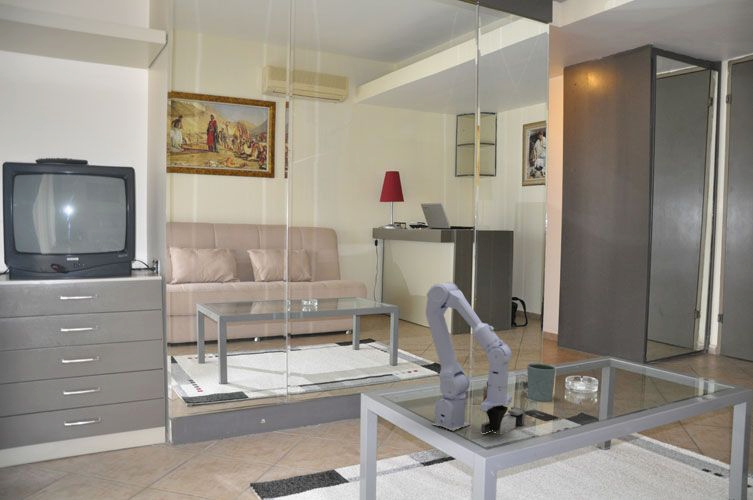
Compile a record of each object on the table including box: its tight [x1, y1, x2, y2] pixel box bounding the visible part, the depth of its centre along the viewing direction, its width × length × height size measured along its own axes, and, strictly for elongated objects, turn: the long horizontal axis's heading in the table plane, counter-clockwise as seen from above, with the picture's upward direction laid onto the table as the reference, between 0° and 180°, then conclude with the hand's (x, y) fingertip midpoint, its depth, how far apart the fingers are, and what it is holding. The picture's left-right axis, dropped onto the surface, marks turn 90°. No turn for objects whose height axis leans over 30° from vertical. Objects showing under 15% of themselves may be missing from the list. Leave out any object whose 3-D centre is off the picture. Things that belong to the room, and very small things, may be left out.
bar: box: [492, 416, 517, 435], centre depth 185 cm, size 9×2×4 cm, turn 138°
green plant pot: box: [526, 362, 557, 403], centre depth 224 cm, size 10×10×12 cm
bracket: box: [480, 406, 526, 433], centre depth 187 cm, size 18×4×5 cm, turn 138°
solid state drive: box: [525, 409, 559, 422], centre depth 203 cm, size 7×10×1 cm
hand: (494, 430), depth 181 cm, fingers closed
